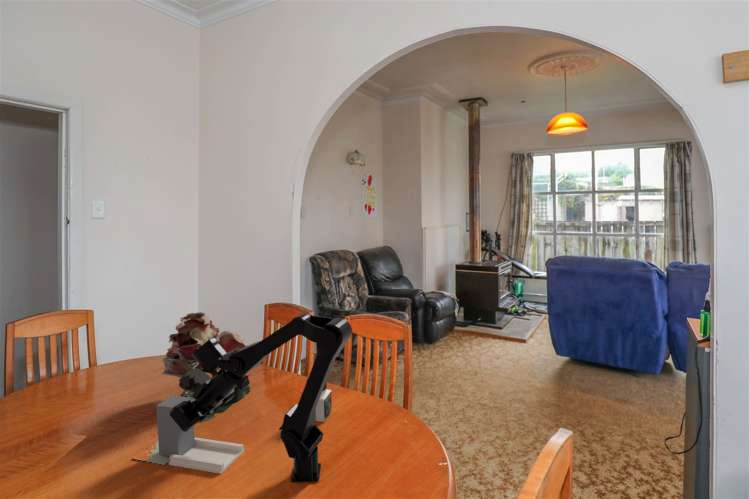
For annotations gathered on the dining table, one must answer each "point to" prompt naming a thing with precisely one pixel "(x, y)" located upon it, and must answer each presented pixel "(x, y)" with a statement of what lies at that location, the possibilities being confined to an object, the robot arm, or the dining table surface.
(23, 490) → the dining table surface
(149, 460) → the sage mat
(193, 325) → the rose bouquet
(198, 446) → the off-white chute
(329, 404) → the medicine bottle
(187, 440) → the gray block
